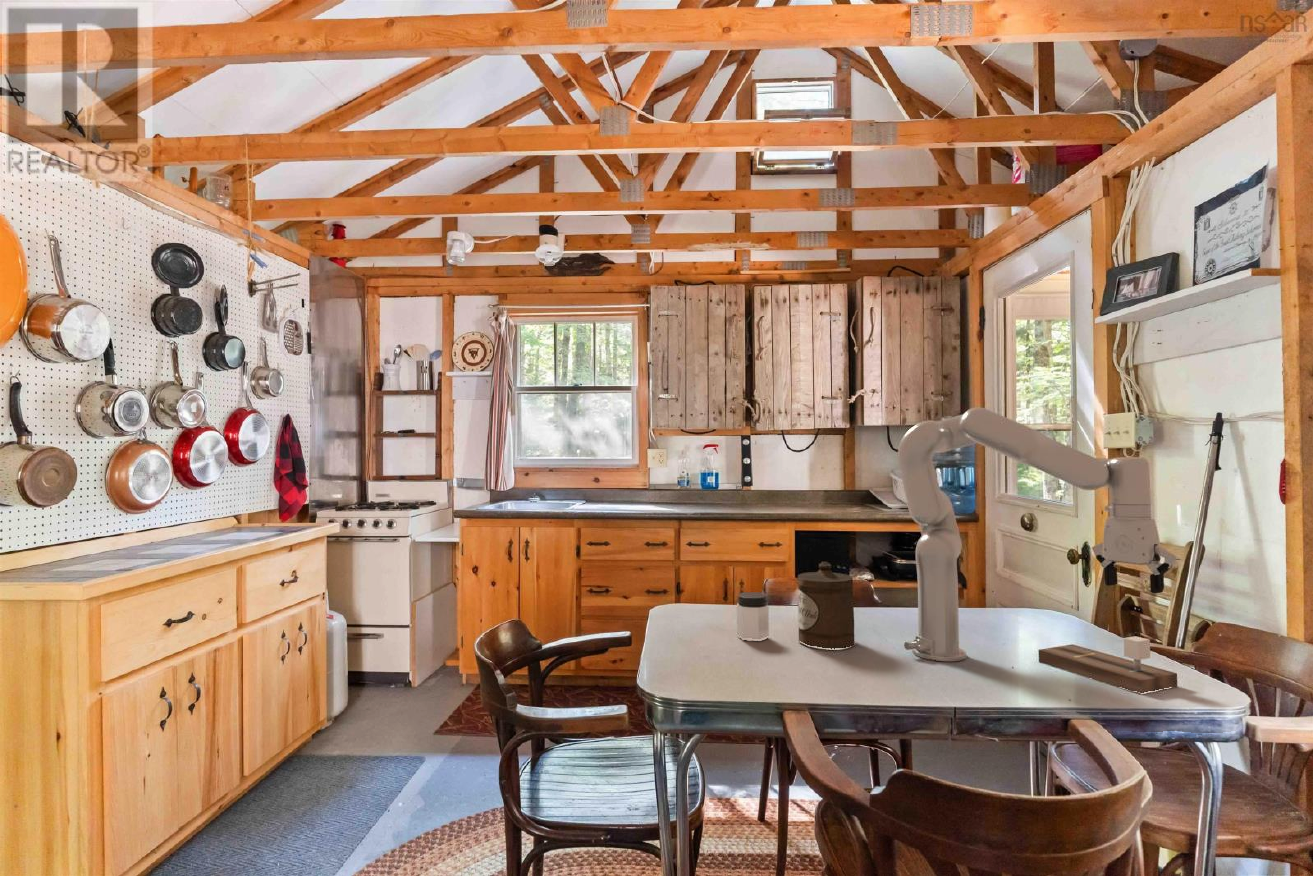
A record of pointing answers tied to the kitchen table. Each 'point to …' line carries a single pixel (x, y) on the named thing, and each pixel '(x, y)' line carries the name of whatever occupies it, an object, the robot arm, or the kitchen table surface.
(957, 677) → the kitchen table surface
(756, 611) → the jar
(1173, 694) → the kitchen table surface
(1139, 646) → the block
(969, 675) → the kitchen table surface
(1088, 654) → the control board
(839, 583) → the wooden container
